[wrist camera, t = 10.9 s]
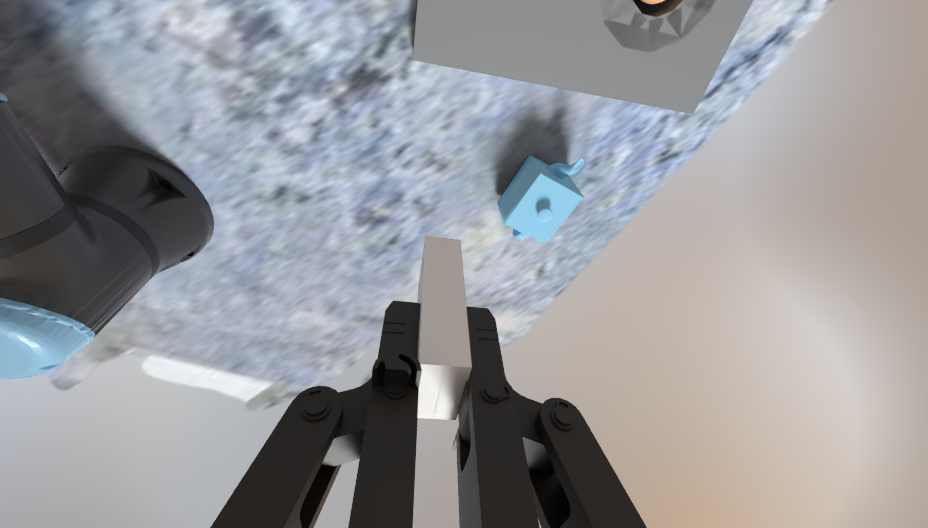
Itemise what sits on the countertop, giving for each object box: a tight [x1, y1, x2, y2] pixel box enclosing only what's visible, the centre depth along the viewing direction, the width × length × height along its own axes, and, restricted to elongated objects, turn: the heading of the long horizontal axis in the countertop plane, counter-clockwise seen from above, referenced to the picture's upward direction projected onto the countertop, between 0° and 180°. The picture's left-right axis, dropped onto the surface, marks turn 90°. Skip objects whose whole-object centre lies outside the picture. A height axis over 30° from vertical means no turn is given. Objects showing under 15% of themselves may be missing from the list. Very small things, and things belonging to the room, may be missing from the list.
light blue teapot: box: [498, 154, 584, 243], centre depth 43 cm, size 12×6×8 cm, turn 150°
